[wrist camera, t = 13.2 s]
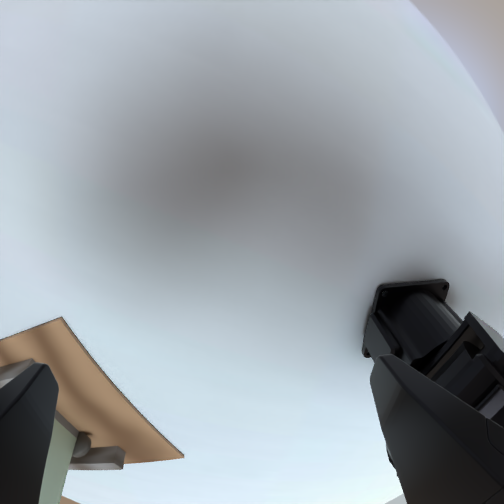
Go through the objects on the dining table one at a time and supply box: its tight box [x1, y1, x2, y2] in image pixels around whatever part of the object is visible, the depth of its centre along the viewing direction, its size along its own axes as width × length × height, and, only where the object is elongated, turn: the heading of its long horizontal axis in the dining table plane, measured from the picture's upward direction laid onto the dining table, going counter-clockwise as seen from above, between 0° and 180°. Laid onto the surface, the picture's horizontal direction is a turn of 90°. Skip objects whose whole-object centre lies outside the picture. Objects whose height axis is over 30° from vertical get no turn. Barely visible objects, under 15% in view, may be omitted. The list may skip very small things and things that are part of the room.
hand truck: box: [39, 410, 91, 504], centre depth 19 cm, size 6×7×13 cm
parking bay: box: [0, 317, 184, 470], centre depth 24 cm, size 22×20×3 cm
